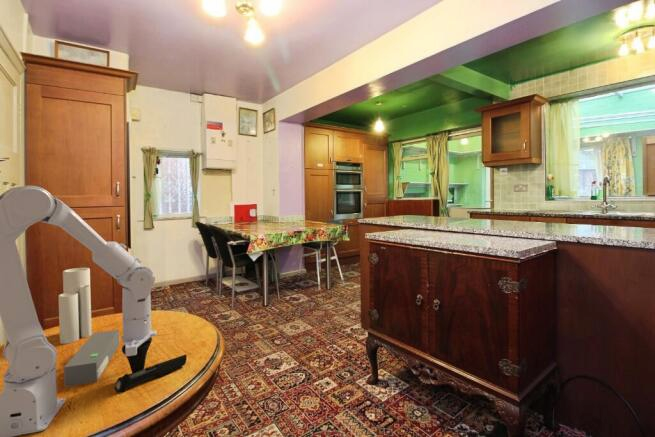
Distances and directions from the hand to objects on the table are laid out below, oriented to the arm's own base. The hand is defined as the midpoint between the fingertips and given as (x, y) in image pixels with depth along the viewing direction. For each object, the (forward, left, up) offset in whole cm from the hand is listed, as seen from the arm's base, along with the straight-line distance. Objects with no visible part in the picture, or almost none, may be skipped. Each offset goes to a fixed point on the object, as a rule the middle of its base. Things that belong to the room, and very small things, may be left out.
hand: (138, 372), depth 75 cm
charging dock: (+11, +11, -1) cm, 16 cm away
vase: (+33, +22, -1) cm, 39 cm away
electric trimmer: (-1, -3, -2) cm, 4 cm away
